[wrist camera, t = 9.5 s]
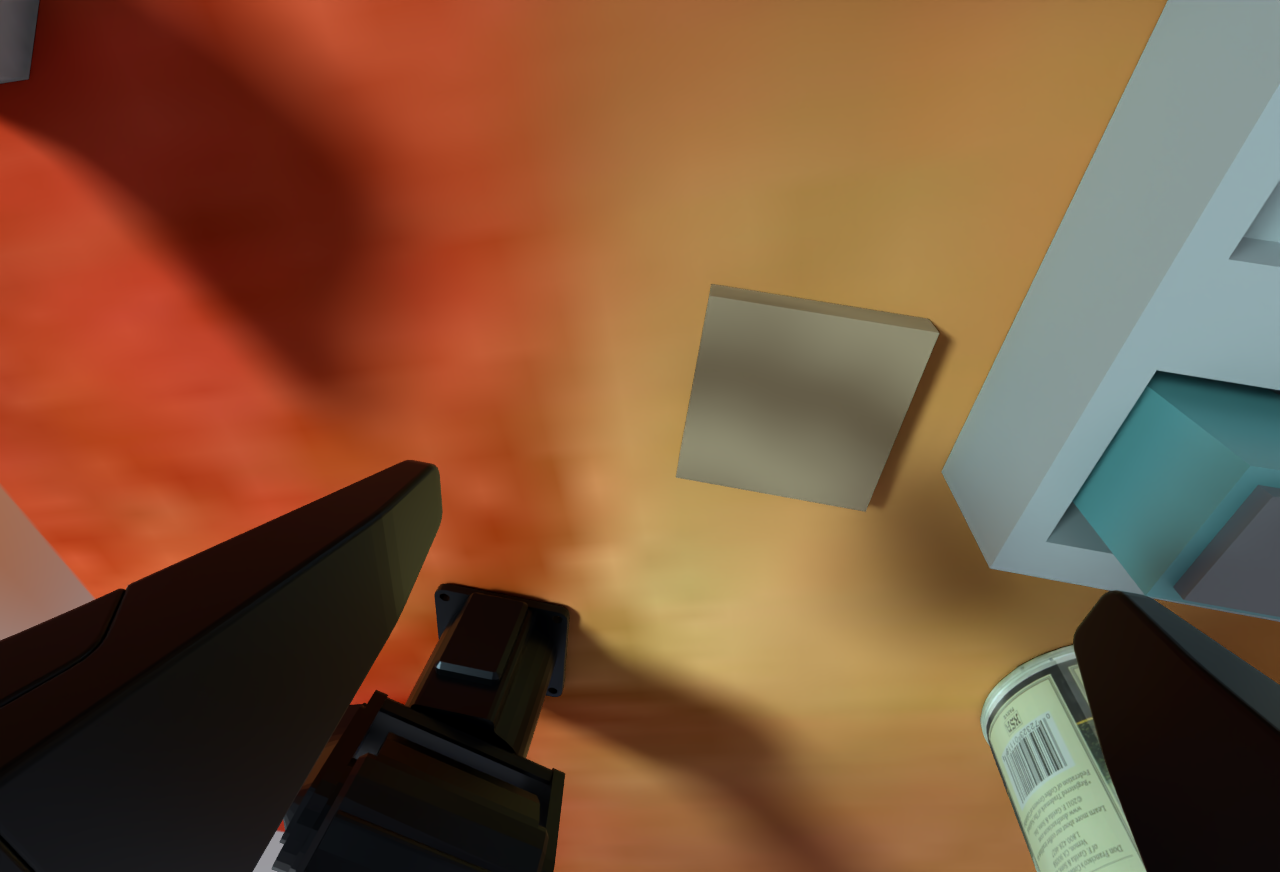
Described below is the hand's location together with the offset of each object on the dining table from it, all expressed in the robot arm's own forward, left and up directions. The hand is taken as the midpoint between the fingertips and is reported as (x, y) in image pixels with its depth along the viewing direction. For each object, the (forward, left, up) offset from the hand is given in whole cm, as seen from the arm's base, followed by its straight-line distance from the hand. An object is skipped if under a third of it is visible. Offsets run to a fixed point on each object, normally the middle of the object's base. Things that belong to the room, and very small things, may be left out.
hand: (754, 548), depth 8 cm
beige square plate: (-4, -2, -13) cm, 14 cm away
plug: (-2, -12, -12) cm, 17 cm away
